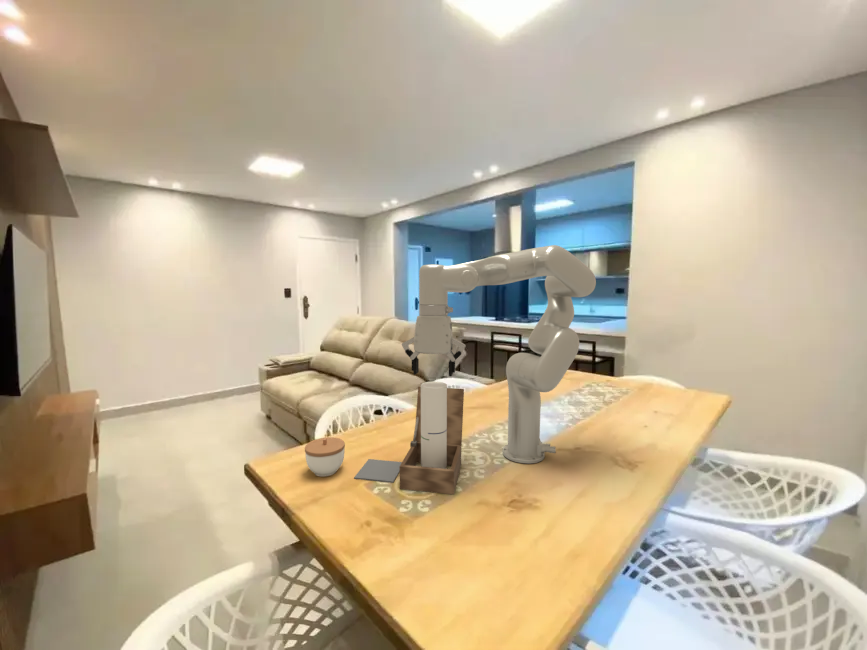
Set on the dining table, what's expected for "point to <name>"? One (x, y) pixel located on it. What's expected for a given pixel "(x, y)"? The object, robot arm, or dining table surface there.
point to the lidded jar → (325, 455)
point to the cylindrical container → (434, 425)
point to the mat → (379, 471)
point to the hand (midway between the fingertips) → (433, 374)
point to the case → (447, 478)
